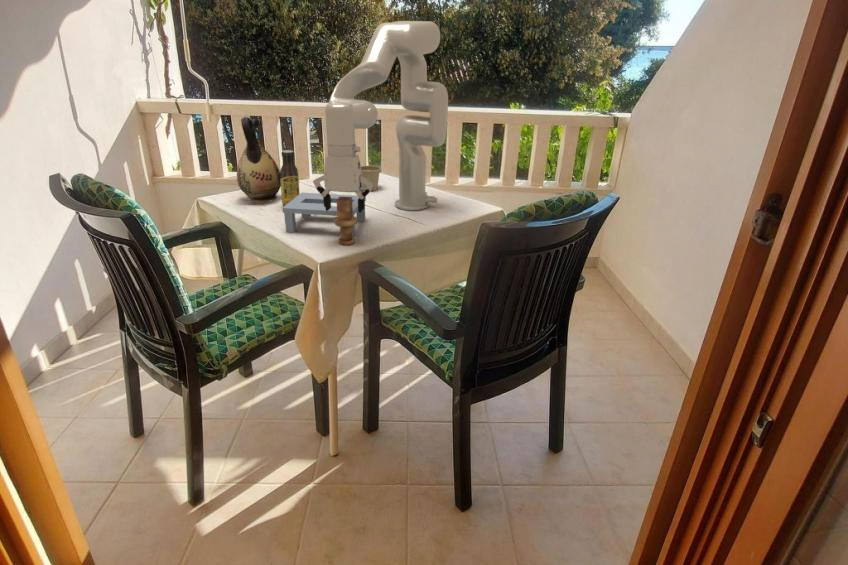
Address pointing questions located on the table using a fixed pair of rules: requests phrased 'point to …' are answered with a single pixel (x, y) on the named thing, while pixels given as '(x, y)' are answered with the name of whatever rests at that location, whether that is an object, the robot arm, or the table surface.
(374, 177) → the flower pot
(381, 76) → the robot arm
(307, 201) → the stand
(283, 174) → the sauce bottle
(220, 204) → the table surface
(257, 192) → the ceramic jug
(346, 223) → the walnut peg
